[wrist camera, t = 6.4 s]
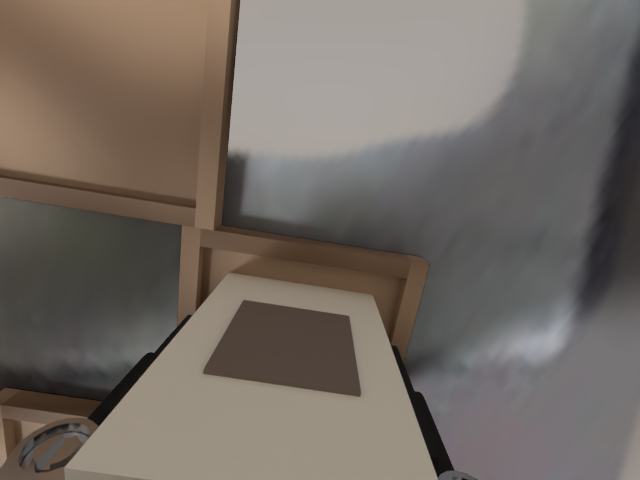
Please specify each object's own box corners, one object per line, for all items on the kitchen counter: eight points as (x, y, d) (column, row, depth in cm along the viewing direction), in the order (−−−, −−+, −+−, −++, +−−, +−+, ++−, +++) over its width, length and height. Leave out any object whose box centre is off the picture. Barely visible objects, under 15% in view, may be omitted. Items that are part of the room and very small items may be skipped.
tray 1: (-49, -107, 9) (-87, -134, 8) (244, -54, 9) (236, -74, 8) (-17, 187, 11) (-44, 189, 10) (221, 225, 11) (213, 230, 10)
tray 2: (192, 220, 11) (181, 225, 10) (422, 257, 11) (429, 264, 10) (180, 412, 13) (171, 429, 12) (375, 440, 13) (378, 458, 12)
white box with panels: (229, 269, 11) (58, 468, 4) (373, 292, 11) (458, 524, 4) (217, 394, 12) (73, 713, 5) (347, 413, 12) (375, 748, 5)
